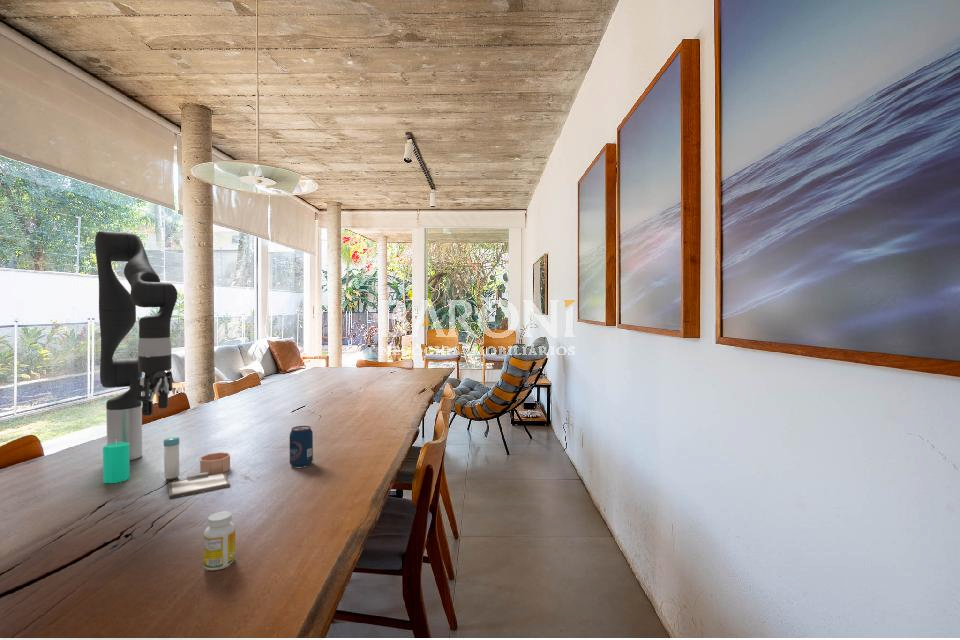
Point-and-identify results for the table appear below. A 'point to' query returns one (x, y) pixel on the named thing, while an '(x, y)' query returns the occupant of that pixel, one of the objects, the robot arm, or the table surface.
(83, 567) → the table surface
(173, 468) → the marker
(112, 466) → the candle
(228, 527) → the supplement bottle
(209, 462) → the pen cup
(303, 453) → the soda can
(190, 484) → the clipboard
